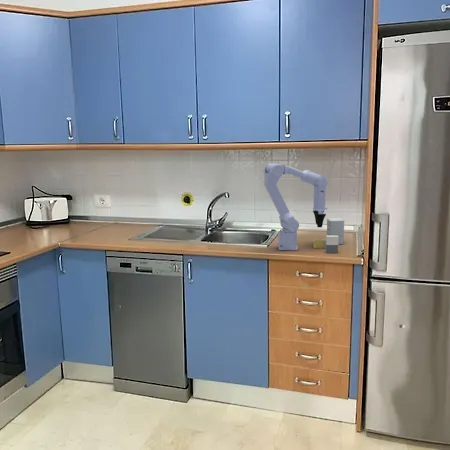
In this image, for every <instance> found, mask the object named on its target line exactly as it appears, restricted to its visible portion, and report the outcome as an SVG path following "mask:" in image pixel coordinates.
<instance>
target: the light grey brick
mask: <svg viewBox="0 0 450 450" xmlns="http://www.w3.org/2000/svg"><path fill="white" fill-rule="evenodd" d="M325 240H326V245H338V246H339V244H338V240H339V237H338V235H327V234H326V236H325Z"/></svg>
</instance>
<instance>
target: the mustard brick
mask: <svg viewBox="0 0 450 450" xmlns="http://www.w3.org/2000/svg"><path fill="white" fill-rule="evenodd" d="M325 240H326V238H313V242H312V243H313V244H312V245H313V246H312V247H313V248H314V249H325V248H324V243H325Z"/></svg>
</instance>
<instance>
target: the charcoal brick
mask: <svg viewBox="0 0 450 450" xmlns="http://www.w3.org/2000/svg"><path fill="white" fill-rule="evenodd" d="M325 253H326V254H339V244H338V245H326V249H325Z"/></svg>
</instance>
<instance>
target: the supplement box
mask: <svg viewBox="0 0 450 450" xmlns="http://www.w3.org/2000/svg"><path fill="white" fill-rule="evenodd" d="M326 235H338V237H339V240H338V245H344V243H345V242H344V241H345V220H344V219H342V218H341V217H332V218H330V217H329V218H326Z"/></svg>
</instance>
